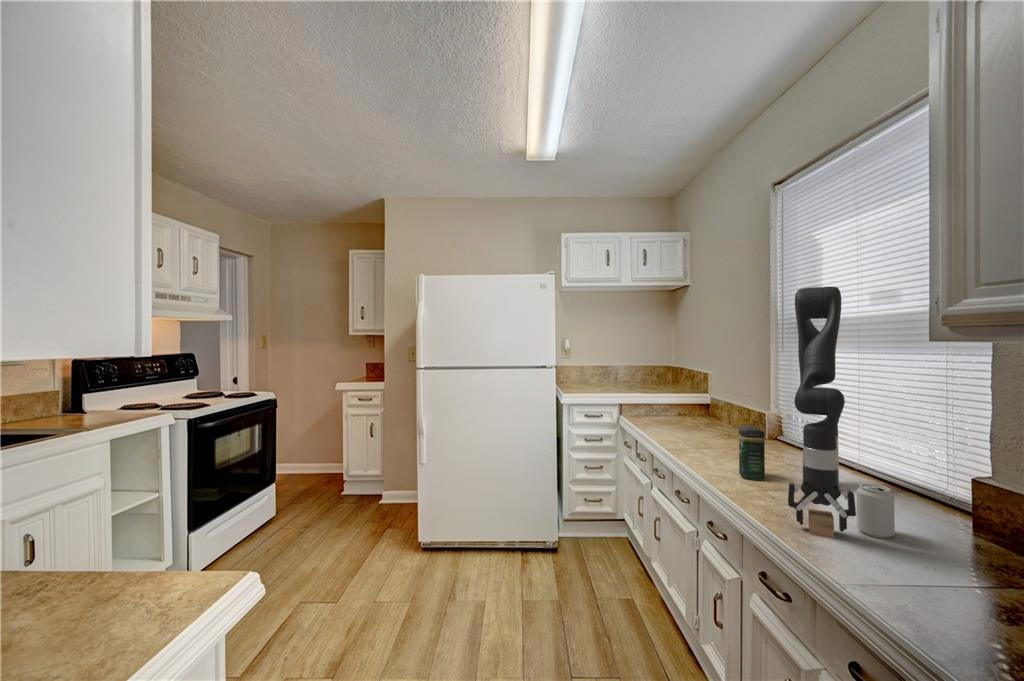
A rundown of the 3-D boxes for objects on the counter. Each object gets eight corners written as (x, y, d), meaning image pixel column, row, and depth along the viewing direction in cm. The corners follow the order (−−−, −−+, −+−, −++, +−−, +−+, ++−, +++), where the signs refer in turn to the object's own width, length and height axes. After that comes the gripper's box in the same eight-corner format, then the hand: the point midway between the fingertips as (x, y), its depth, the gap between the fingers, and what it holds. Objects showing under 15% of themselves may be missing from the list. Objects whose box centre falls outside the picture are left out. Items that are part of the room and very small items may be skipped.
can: (902, 540, 108) (901, 492, 108) (867, 538, 109) (866, 490, 109) (883, 528, 115) (882, 482, 115) (850, 526, 116) (850, 481, 116)
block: (808, 527, 116) (808, 508, 116) (831, 530, 114) (831, 511, 114) (810, 534, 112) (809, 514, 112) (834, 538, 110) (833, 518, 110)
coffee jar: (767, 481, 153) (767, 429, 153) (742, 480, 155) (741, 428, 155) (760, 473, 162) (760, 423, 162) (737, 472, 164) (736, 423, 164)
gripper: (852, 464, 113) (853, 527, 113) (787, 457, 120) (787, 516, 120) (857, 472, 106) (858, 538, 106) (788, 464, 113) (788, 526, 113)
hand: (820, 527), depth 113 cm, fingers open, 8 cm apart
